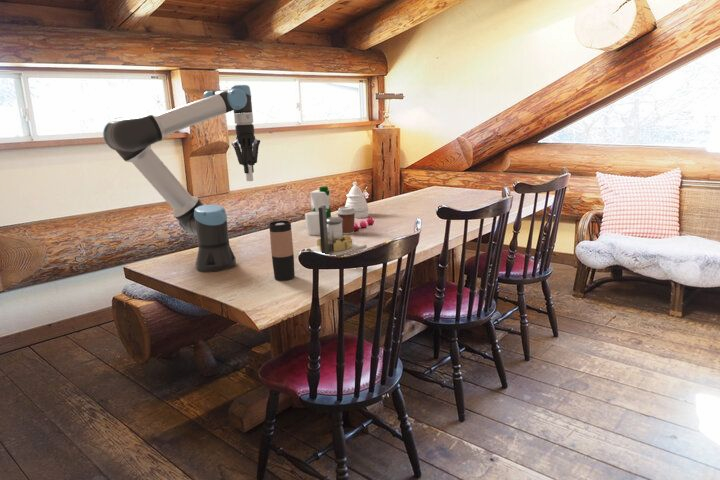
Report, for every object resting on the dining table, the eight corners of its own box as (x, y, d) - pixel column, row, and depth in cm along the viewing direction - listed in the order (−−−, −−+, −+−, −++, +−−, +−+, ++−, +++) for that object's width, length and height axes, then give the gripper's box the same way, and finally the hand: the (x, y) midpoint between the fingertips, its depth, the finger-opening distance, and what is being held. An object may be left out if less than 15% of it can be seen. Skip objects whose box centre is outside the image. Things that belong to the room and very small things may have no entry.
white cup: (320, 235, 248) (319, 214, 246) (304, 235, 250) (302, 214, 247) (324, 231, 256) (323, 211, 253) (309, 231, 257) (307, 211, 255)
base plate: (329, 258, 210) (329, 255, 210) (302, 251, 222) (302, 249, 222) (366, 246, 225) (365, 244, 225) (338, 241, 237) (338, 238, 236)
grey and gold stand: (362, 253, 211) (360, 203, 206) (322, 259, 206) (318, 208, 201) (346, 241, 231) (343, 195, 226) (309, 245, 227) (306, 199, 222)
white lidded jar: (334, 252, 218) (332, 221, 215) (322, 249, 223) (320, 219, 220) (347, 248, 223) (346, 218, 220) (335, 246, 228) (333, 216, 225)
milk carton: (326, 228, 262) (324, 188, 257) (310, 227, 265) (307, 188, 260) (334, 224, 270) (331, 185, 265) (318, 224, 273) (315, 185, 268)
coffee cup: (334, 234, 249) (333, 209, 246) (342, 230, 257) (340, 205, 254) (352, 235, 246) (351, 210, 243) (359, 230, 254) (358, 206, 251)
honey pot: (344, 214, 295) (342, 182, 290) (367, 212, 296) (365, 180, 291) (346, 219, 282) (344, 185, 278) (370, 217, 283) (368, 183, 279)
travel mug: (269, 280, 187) (264, 224, 182) (280, 273, 194) (275, 220, 189) (289, 281, 184) (284, 225, 179) (299, 275, 191) (294, 220, 186)
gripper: (235, 124, 212) (241, 183, 218) (262, 123, 221) (267, 179, 227) (225, 125, 217) (231, 182, 223) (252, 123, 226) (257, 178, 232)
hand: (249, 180), depth 225 cm, fingers closed
